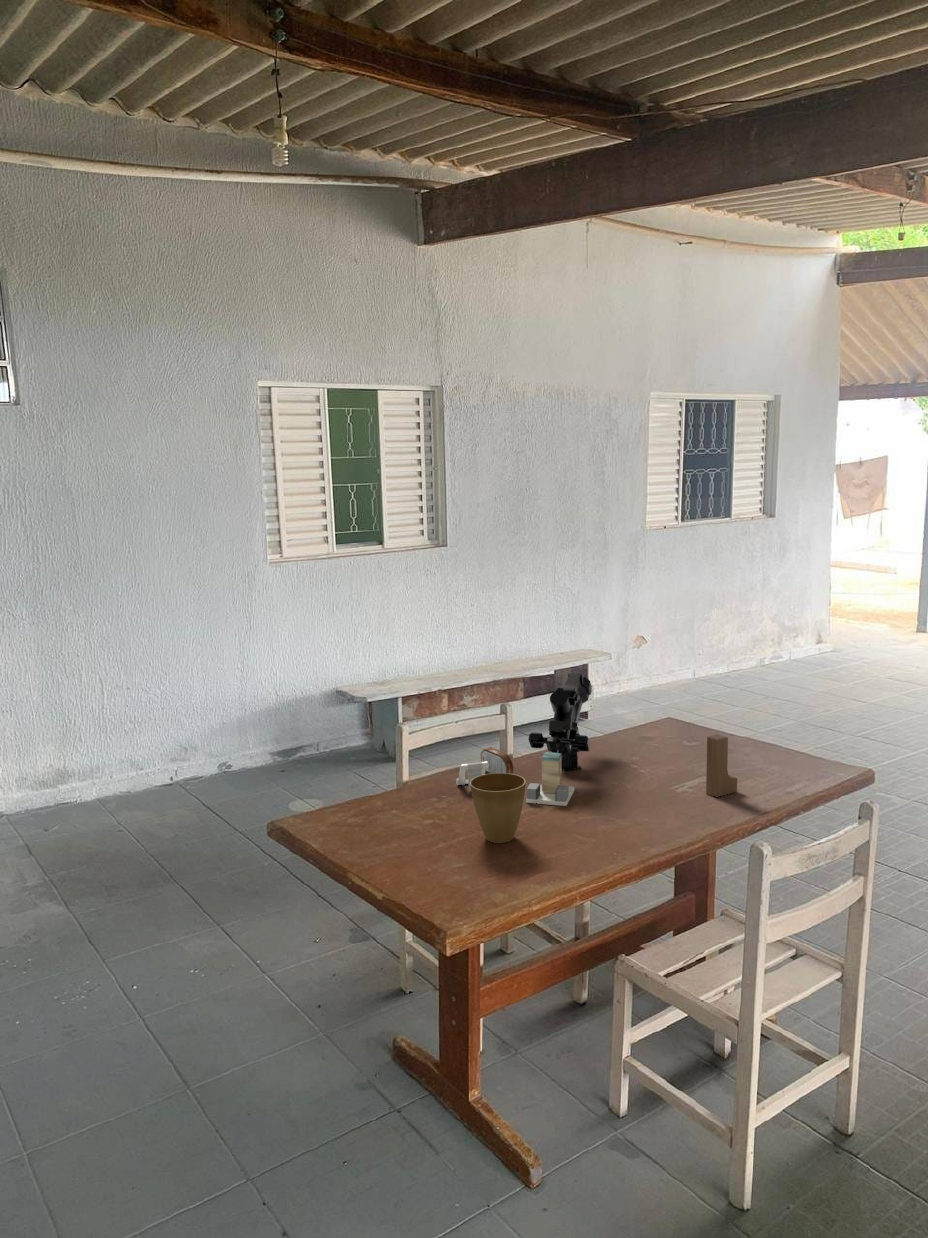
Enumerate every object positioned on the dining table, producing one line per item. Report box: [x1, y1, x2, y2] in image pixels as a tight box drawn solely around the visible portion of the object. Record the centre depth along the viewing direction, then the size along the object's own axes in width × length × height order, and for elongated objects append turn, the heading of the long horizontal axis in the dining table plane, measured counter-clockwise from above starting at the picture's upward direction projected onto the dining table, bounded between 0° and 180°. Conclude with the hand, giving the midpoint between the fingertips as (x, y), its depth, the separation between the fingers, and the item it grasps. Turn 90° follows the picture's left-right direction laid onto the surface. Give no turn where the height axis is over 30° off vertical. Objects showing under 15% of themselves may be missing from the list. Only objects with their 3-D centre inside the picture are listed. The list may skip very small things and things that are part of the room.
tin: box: [480, 746, 514, 774], centre depth 300 cm, size 15×3×8 cm, turn 34°
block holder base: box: [525, 782, 575, 807], centre depth 279 cm, size 14×12×4 cm
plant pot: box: [470, 773, 527, 844], centre depth 247 cm, size 15×15×16 cm
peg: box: [541, 751, 563, 793], centre depth 280 cm, size 5×5×11 cm
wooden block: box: [705, 733, 738, 798], centre depth 277 cm, size 9×4×18 cm, turn 123°
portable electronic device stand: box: [455, 761, 489, 792], centre depth 289 cm, size 9×8×8 cm
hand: (555, 766), depth 286 cm, fingers closed
